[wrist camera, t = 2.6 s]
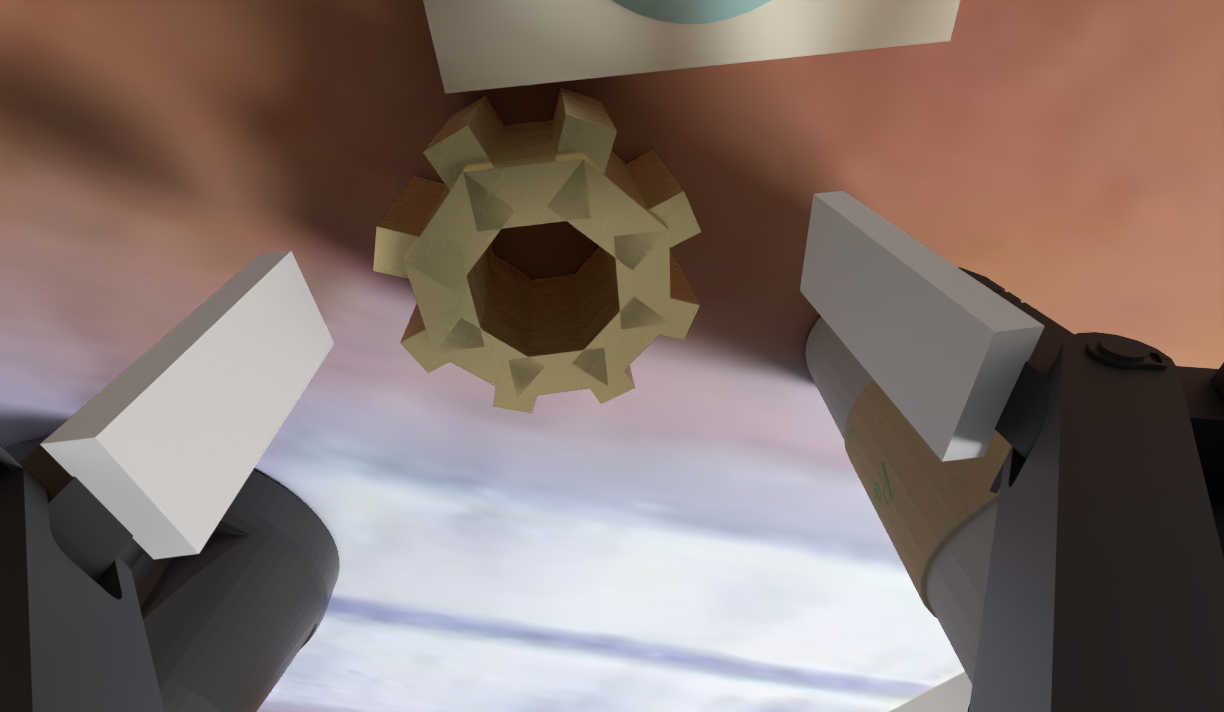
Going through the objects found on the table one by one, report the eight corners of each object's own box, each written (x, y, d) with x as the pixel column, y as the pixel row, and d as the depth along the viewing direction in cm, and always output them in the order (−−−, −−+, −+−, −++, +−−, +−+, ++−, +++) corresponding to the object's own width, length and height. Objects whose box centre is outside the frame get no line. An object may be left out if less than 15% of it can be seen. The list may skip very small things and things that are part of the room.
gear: (453, 344, 20) (429, 432, 16) (379, 104, 15) (319, 143, 11) (668, 316, 20) (700, 396, 16) (664, 75, 16) (707, 101, 11)
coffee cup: (720, 378, 22) (938, 840, 10) (882, 184, 18) (1588, 568, 6) (867, 445, 26) (1162, 850, 14) (1031, 295, 22) (1670, 683, 9)
